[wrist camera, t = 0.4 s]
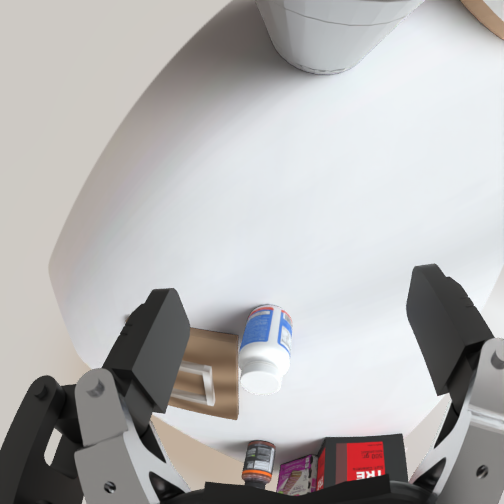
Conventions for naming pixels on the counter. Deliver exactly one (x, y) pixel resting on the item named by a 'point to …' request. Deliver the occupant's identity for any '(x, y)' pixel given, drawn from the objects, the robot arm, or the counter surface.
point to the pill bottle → (265, 350)
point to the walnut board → (208, 375)
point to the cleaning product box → (361, 459)
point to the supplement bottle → (258, 464)
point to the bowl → (488, 14)
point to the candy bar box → (298, 476)
